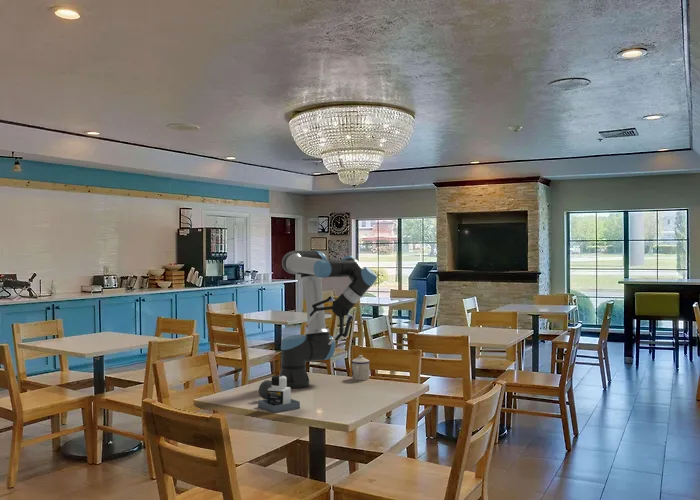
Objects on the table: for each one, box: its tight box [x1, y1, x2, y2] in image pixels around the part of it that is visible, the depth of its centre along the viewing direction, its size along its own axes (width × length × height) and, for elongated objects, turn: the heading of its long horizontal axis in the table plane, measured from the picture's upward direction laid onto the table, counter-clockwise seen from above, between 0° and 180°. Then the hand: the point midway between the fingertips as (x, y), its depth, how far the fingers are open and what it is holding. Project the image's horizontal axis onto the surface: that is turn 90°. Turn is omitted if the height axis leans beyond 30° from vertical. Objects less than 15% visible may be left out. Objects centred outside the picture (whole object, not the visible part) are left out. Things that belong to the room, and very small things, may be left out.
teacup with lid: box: [351, 354, 370, 381], centre depth 303 cm, size 12×9×12 cm
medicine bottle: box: [267, 374, 292, 406], centre depth 245 cm, size 7×7×12 cm
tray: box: [257, 398, 301, 414], centre depth 245 cm, size 12×12×3 cm
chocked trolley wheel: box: [258, 379, 272, 400], centre depth 260 cm, size 3×11×8 cm, turn 128°
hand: (318, 333), depth 268 cm, fingers open, 13 cm apart
